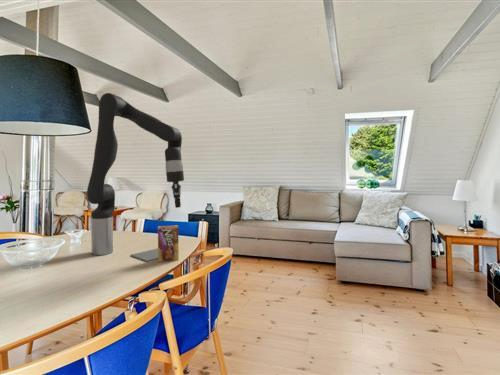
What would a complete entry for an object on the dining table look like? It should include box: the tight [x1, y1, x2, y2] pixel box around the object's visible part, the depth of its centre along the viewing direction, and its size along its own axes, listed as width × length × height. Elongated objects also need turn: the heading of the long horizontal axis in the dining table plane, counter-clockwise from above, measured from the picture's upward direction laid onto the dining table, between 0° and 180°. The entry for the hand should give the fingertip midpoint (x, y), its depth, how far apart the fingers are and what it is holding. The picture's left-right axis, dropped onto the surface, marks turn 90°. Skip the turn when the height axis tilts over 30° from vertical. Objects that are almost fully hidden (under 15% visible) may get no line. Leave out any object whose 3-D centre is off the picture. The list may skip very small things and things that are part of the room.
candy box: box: [157, 224, 180, 263], centre depth 128 cm, size 9×4×15 cm, turn 109°
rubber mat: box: [130, 247, 158, 263], centre depth 136 cm, size 14×16×1 cm
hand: (178, 206), depth 129 cm, fingers open, 8 cm apart
